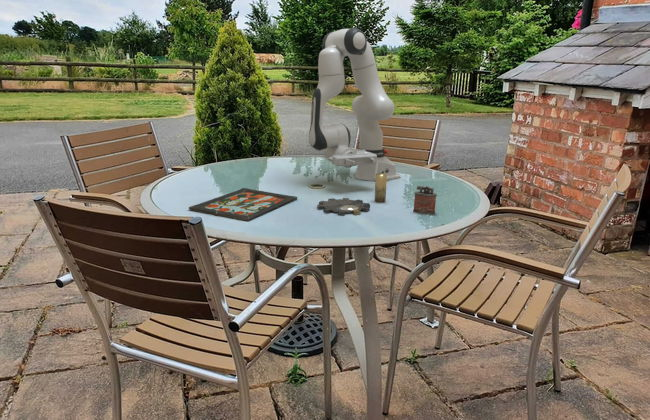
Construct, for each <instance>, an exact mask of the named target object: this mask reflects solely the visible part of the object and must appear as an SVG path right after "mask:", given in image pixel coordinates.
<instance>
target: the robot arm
mask: <svg viewBox="0 0 650 420" xmlns="http://www.w3.org/2000/svg"><path fill="white" fill-rule="evenodd" d="M321 45H322V47H321V48H322V49H321V51H320V52H319V54H318V64H317V67H318V68H317V69H318V84H317V87H316V89H314V90H313V93H312V99H311V112H310V128H309V133H308V143H309V146H310V147H312V148H313V149H314V150H317V151H319V152H320V151H323V155H324V156H323V157H325V159H326V160H327V161H328V162H330V163H331V164H332V165H334V166H336V167H343V168H348V169H349V168H353V167H355V166H357V168H356V171H355V175H354V177H355V179H358V180H361V181H362V180H363V181H371V182H375V179H376V174H377V173H384V174H387V181H389V180H395V179H399V178H401V175H400V173H397V169H396V165H395V163H394V162H393V161H392V160H390V159H389V158H388V157H387V156H386V155H389V153H390V150H389V149H384V148H383V143H384V132H383V130H382V129H381V126H380V123H379V121H387V120H388V119H390V118H391V117H392V116H393V114H394V113H395V103H394V101H392V99H391V98H390V97H389V96H388V95H387V93H386V91H385V89H384V86H383V85H382V83H381V80H380V76H379V71H378V67H377V62H376V58H375V55H374V52H373V49H372V46H371V44H370V42H369V41H368V40H367V37H366V35H365V32H364V31H363V30H361V29H360V28H357V27H351V28H341V29H339V30H335V31H330V32H328V33H327V34H326V35H324V37H323V39H322V44H321ZM345 57H348V59H349V60H350V68H351V72H352V77H353V80H354V85H355V87H356V88H357V90H359V92H360V93H361V94H359V95H358V96H356V97H355V98H354V99H353V100H352V103H351V110H352V112H353V113H354V115H355V117H356V121H357V124H358V130H359V140H358V141H359V142H358V143H359V145H358V148H355V147H354V148H353V147H350V145H351V139H352V138H351V132H350V130H349V128H348V127H347V125H345V124H344V123H342V122H340V123H335V124H329V125H325V126H324V125H323V118H324V117H323V116H324V108H325V105H326V104H327V103H328V102H329V101H330V100H332V99H333V98H335V97H337V96H338V95H339V94H341V92H342V91H343V90H344V88H345V85H346V82H345V81H346V80H345V79H346V78H345V77H346V76H345V69H344V68H345V67H344V60H345Z"/></svg>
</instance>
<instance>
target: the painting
mask: <svg viewBox="0 0 650 420" xmlns="http://www.w3.org/2000/svg"><path fill="white" fill-rule="evenodd" d="M297 200H298V196H295V195H294V196H293V195H287V194H282V193H275V192H271V191H264V190H259V189H252V188H247V187H242V188H240V189H238V190H236V191H232V192H229V193H227V194H224V195H221V196H218V197H215V198H212V199H209V200H206V201H203V202H200V203H198V204H197V203H196V204H195V205H191V206H188V209H189V211H195V212H198V213H203V214H208V215H209V214H210V215H213V216H215V217H218V216H219V217H225V218H229V219H234V220H239V221H244V222H249V221H252V220H254V219H256V218H259V217H260V216H263V215H265V214H268V213H271V212H273V211H276V210H278V209H280V208H282V207H284V206H285V207H286V205H289V204H291V203H293V202H295V201H297Z"/></svg>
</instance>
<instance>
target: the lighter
mask: <svg viewBox="0 0 650 420" xmlns="http://www.w3.org/2000/svg"><path fill="white" fill-rule="evenodd" d="M416 190H418V191H414V202H413V209H412V210H413V213H416V214H422V215H435V214H436V201H437V193H436V192H434V191H435V190H434V187H431V186H428V185H426V186H424V185H417V186H416Z"/></svg>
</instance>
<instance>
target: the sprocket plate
mask: <svg viewBox="0 0 650 420" xmlns="http://www.w3.org/2000/svg"><path fill="white" fill-rule="evenodd" d="M316 207H317V210H318V211H319V210H323V211H322V212H323V213H325V214H331V213H332V214H337V216H341V217H342V216H343V217H344V216H345V215H353V216H358V215H359V216H360V215H361V214H362V212H363V213H368V212H369V211H371V204H370V203H369V202H364V200H362V199H356V200H355V199H350V198H349V197H343V198H339V199H336V198H334V197H332V198H328V200H327V201H326V200H320V201H319V202H318V204H317V205H316Z"/></svg>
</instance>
